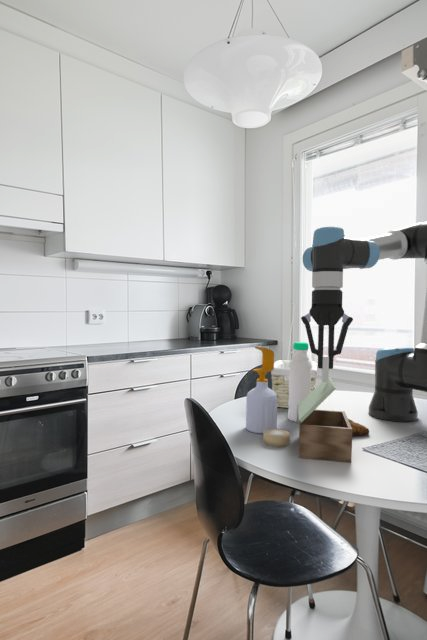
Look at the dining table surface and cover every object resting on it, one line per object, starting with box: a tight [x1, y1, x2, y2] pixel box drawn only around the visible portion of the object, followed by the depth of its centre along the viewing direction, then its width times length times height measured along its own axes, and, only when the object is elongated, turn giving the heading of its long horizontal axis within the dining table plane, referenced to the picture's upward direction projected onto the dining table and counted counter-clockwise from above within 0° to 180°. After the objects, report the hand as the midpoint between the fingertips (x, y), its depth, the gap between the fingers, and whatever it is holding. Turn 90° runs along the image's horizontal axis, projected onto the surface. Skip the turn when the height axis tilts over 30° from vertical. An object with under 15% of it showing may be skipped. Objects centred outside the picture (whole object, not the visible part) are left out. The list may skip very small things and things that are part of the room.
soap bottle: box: [245, 346, 278, 435], centre depth 119 cm, size 9×9×25 cm
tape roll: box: [262, 428, 291, 448], centre depth 108 cm, size 7×7×2 cm
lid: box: [296, 375, 336, 425], centre depth 104 cm, size 12×16×1 cm
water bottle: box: [287, 341, 312, 423], centre depth 129 cm, size 7×7×25 cm
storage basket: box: [270, 359, 318, 409], centre depth 153 cm, size 24×16×15 cm
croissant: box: [348, 418, 370, 437], centre depth 116 cm, size 14×7×5 cm, turn 81°
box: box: [298, 408, 353, 463], centre depth 104 cm, size 12×16×8 cm
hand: (325, 381), depth 103 cm, fingers closed
